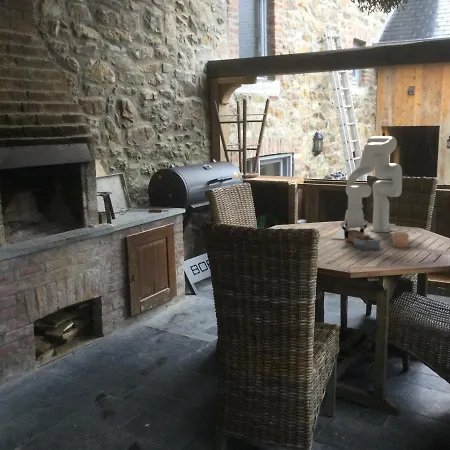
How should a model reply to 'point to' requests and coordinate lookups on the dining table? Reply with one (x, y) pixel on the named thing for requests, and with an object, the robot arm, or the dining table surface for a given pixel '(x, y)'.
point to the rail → (356, 235)
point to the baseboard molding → (339, 235)
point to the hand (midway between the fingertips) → (354, 237)
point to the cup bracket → (366, 244)
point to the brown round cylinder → (400, 239)
